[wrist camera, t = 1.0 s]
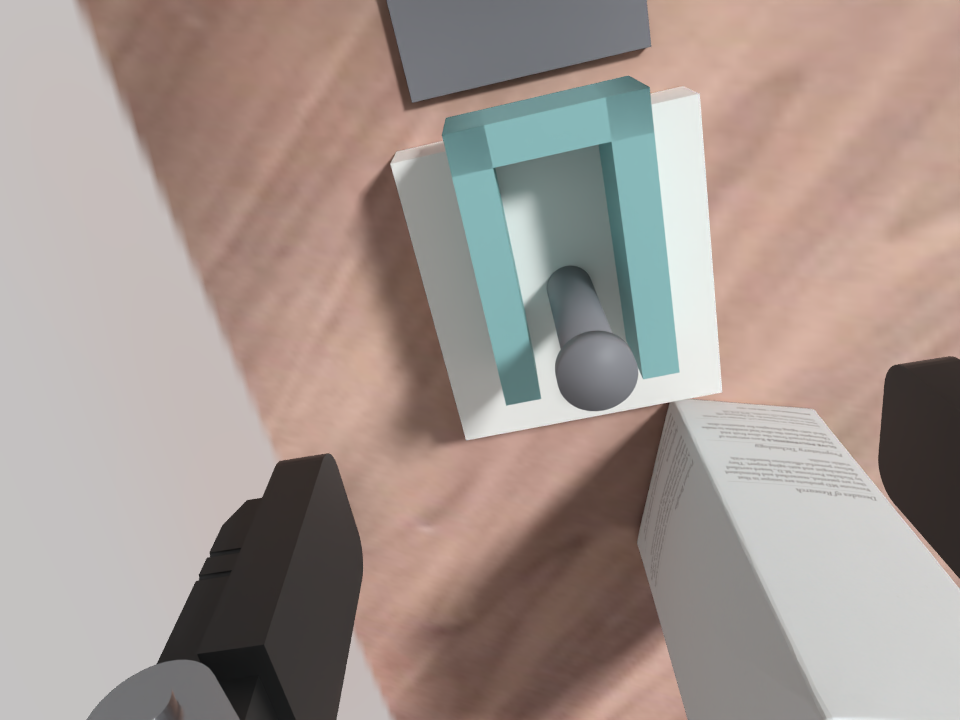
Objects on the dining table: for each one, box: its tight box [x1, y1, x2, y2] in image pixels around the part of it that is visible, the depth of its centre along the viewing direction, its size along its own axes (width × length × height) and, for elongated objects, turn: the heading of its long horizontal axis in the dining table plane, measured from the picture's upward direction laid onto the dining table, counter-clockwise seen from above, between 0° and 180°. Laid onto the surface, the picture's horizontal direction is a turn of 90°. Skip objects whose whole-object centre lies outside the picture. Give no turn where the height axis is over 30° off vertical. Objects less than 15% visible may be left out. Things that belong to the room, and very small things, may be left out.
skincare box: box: [637, 399, 960, 720], centre depth 25 cm, size 8×7×16 cm
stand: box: [391, 86, 722, 440], centre depth 23 cm, size 11×10×9 cm
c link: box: [442, 76, 680, 406], centre depth 23 cm, size 9×6×3 cm, turn 12°
